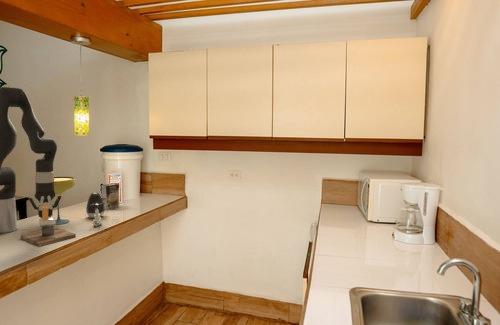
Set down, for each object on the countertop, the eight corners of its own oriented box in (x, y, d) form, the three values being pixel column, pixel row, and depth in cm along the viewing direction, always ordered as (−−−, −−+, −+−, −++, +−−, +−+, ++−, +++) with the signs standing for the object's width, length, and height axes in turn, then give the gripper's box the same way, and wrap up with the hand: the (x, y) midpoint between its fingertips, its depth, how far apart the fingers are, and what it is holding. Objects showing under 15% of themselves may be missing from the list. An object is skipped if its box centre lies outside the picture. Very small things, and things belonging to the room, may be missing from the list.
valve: (90, 226, 191) (89, 205, 190) (92, 223, 197) (91, 202, 196) (103, 226, 193) (102, 204, 191) (104, 222, 199) (103, 202, 198)
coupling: (37, 230, 162) (36, 208, 161) (40, 224, 173) (39, 202, 172) (54, 229, 165) (53, 206, 164) (56, 222, 176) (55, 201, 175)
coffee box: (107, 210, 229) (106, 185, 227) (101, 208, 232) (100, 184, 231) (119, 207, 236) (118, 184, 234) (114, 206, 240) (113, 183, 238)
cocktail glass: (51, 217, 208) (49, 176, 205) (82, 218, 208) (80, 176, 206) (33, 226, 190) (30, 181, 187) (66, 227, 190) (64, 181, 188)
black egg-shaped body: (89, 220, 204) (88, 194, 203) (84, 216, 212) (83, 192, 210) (107, 217, 211) (106, 192, 209) (101, 214, 219) (100, 190, 217)
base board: (20, 238, 171) (19, 226, 170) (55, 230, 185) (55, 218, 184) (39, 246, 160) (38, 233, 159) (75, 236, 174) (75, 225, 173)
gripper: (27, 183, 156) (28, 221, 157) (63, 181, 164) (63, 217, 166) (26, 180, 162) (27, 217, 163) (60, 179, 170) (61, 213, 172)
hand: (45, 217), depth 165 cm, fingers closed on coupling, 3 cm apart
